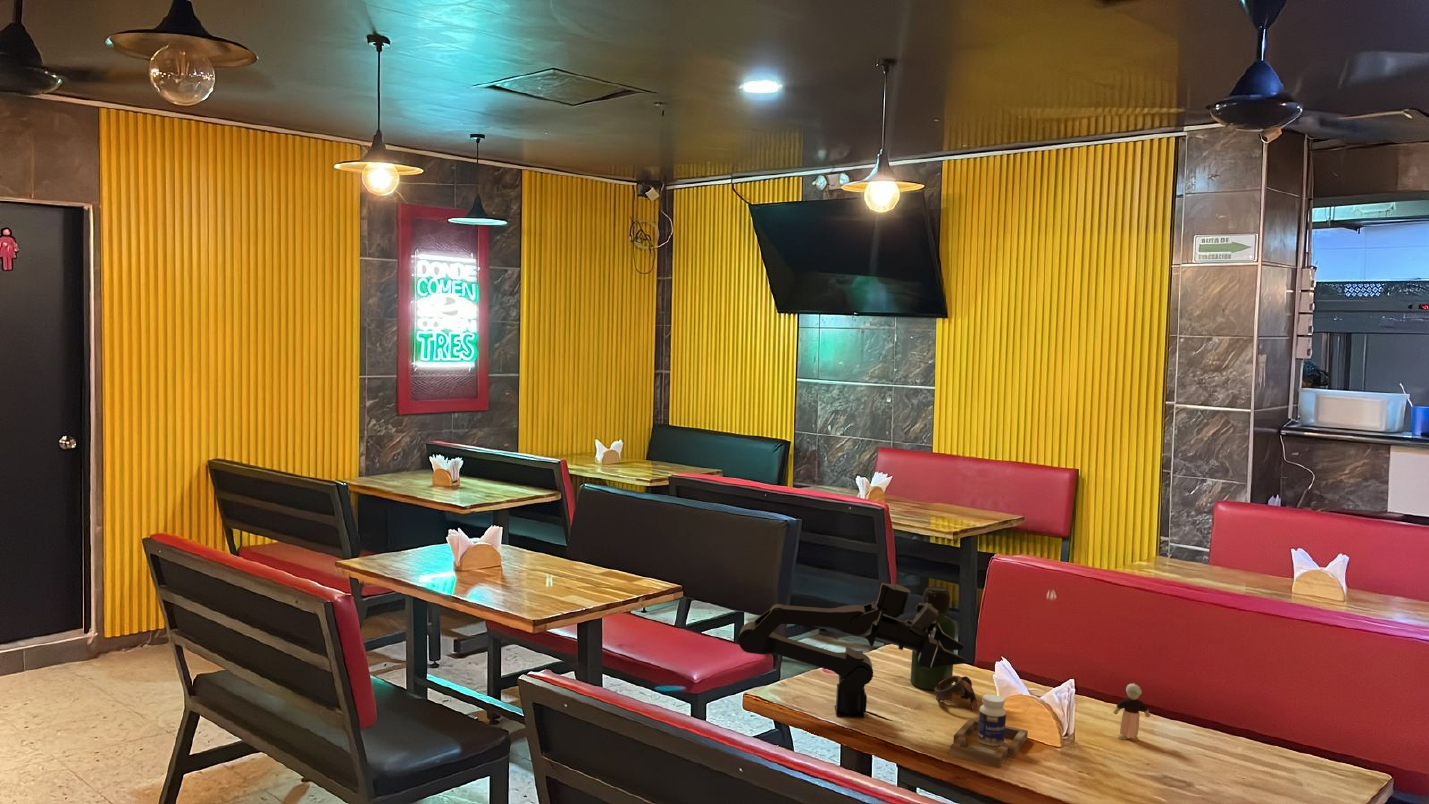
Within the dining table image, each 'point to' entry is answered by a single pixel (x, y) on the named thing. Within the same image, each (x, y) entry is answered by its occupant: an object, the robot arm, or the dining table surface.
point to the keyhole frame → (986, 754)
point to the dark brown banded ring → (956, 690)
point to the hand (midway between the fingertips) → (963, 654)
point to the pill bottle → (992, 721)
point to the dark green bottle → (941, 603)
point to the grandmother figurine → (1131, 713)
